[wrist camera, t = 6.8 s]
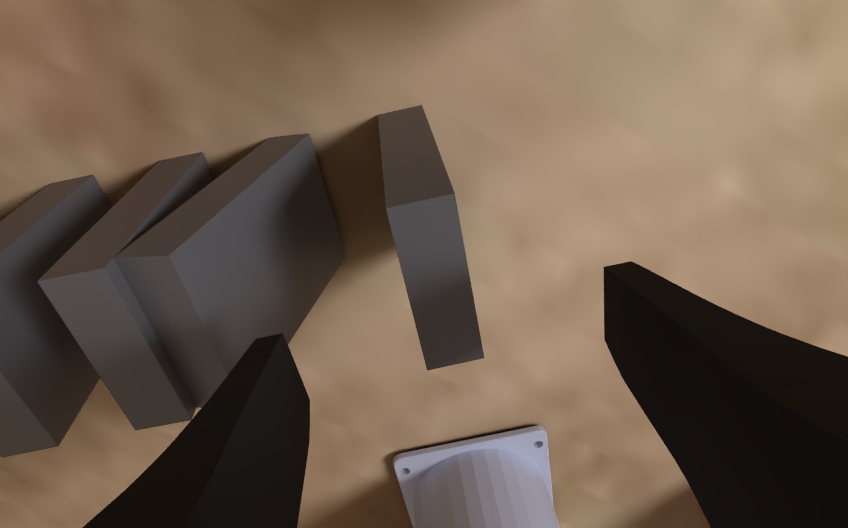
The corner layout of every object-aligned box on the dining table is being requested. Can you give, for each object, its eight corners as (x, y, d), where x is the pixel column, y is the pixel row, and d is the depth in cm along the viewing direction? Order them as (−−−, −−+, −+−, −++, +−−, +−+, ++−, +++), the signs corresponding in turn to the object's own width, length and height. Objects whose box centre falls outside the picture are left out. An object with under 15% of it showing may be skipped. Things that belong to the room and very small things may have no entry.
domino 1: (154, 289, 22) (58, 446, 15) (115, 297, 22) (1, 457, 15) (93, 174, 19) (-56, 300, 12) (49, 183, 19) (-124, 314, 12)
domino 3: (345, 255, 21) (245, 410, 15) (309, 257, 22) (196, 407, 15) (309, 133, 19) (168, 255, 12) (268, 137, 19) (113, 257, 13)
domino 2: (250, 269, 22) (191, 419, 15) (212, 277, 22) (135, 430, 15) (202, 152, 19) (104, 267, 12) (159, 160, 19) (36, 281, 12)
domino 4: (445, 228, 22) (484, 357, 15) (407, 236, 22) (427, 370, 15) (421, 105, 19) (454, 193, 12) (377, 115, 19) (385, 208, 12)
